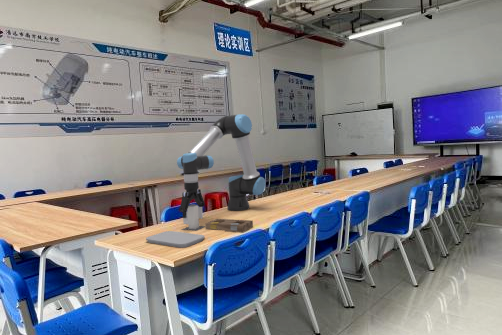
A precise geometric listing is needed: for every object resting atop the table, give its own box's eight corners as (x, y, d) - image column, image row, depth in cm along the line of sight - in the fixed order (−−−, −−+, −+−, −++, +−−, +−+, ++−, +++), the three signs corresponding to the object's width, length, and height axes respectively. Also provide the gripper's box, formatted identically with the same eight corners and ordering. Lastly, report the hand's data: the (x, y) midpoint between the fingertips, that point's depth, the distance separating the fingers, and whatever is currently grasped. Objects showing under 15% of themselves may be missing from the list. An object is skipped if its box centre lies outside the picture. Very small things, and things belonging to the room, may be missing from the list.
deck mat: (191, 226, 196) (191, 225, 196) (206, 227, 192) (206, 226, 192) (180, 230, 187) (180, 229, 187) (196, 231, 183) (196, 230, 183)
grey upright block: (192, 226, 192) (191, 204, 191) (199, 227, 191) (197, 204, 190) (188, 228, 189) (187, 205, 188) (194, 229, 187) (193, 205, 186)
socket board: (217, 224, 196) (216, 218, 196) (252, 227, 187) (252, 220, 187) (205, 230, 185) (205, 223, 185) (242, 232, 176) (242, 225, 176)
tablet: (168, 234, 181) (168, 230, 181) (207, 240, 167) (207, 235, 166) (143, 243, 167) (142, 238, 167) (183, 249, 153) (183, 244, 153)
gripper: (198, 179, 201) (200, 216, 202) (170, 184, 178) (173, 226, 180) (209, 179, 198) (211, 216, 199) (183, 184, 175) (185, 226, 177)
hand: (193, 221), depth 189 cm, fingers open, 13 cm apart
